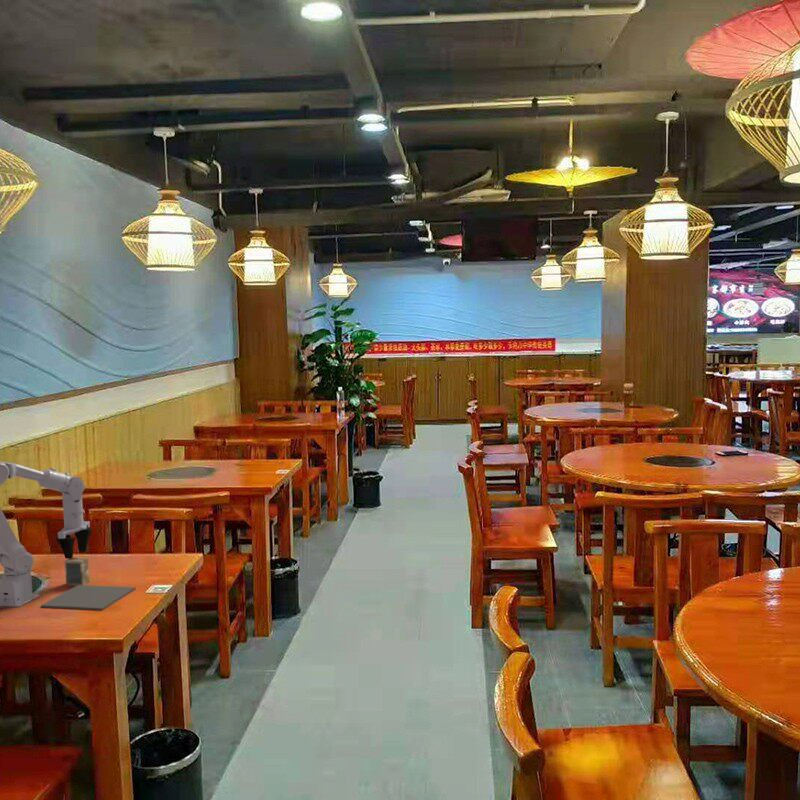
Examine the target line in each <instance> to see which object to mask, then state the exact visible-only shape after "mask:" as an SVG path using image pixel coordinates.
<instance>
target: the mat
mask: <svg viewBox="0 0 800 800" xmlns="http://www.w3.org/2000/svg"><path fill="white" fill-rule="evenodd" d="M135 590H136V587H135V586H132V587H131V586H115V585H114V586H113V585H111V586H110V585H108V586H107V585H89V584H86V585H77V586H73V587H71V588H70V589H68V590H66V591H65V592H63V593H61V594H59V595H57V596H55V597H53V598H51V599H50V600H48V601H45V603H43V604H40V607H41V608H49V609H67V610H68V609H69V610H71V609H74V610H89V611H90V610H91V611H94V610H95V611H104V610H105V609H106V608H108V607H110V606H112V605H113V604H114V603H116V602H118V601H119V600H121V599H122V598H124V597H126V596H127V595H129V594H130V593H133V591H135Z"/></svg>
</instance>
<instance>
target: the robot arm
mask: <svg viewBox="0 0 800 800" xmlns="http://www.w3.org/2000/svg"><path fill="white" fill-rule="evenodd" d="M15 477H19V478H23V479H27V480H31V481H35V482H37V483H38V485H39V487H41V488H44V489H49V490H52V491H56V492H60V493H62V508H63V509H62V511H63V513H62V514H63V524H64V525H63V528H62V529H61V530H60V531H57V537H56V542H57V544H59V546H60V548H61V550H62V552H63V555H64V557H65V559H66V560H68V559H71V558H74V557H73V556H74V545H75V540H76V541H77V542H76V543H77V549H78V551H79V552H84V553H85V552H87V549H88V548H87V547H88V543H89V540H90V536H91V534H92V532H93V528H92V527H91V522H90V521H89V520H87V521H86V520H84V507H83V506H84V505H83V492H84V491H85V489H86V484H85V483H84V481H83V479H82V478H80V477H78V476H74V475H71V474H70V473H68V472H65V473H63V472H60V471H57V469H56V468H51V467H50V469H49V468H46V469H44V470H42V471H41V470H37V469H35V468H34V469H33V468H30V467H27V466H25V465H22V464H18V463H14V462H13V463H12V462H7V461H0V487H1V486H2V485H3V484H4V483H5V482H6V480H8V479H11V480H12V479H13V478H15ZM90 527H91V528H90ZM73 534H74V535H75V536H71V535H73ZM34 563H35V559H34V556H33V554H32V553H30V552H28V551H27V550H26V547H25V546H24V545H22V543H21V542H20V541H19V540H18V539H17V536H16V534H15V533H14V532H13V529H12V527H11V525H10V523H9V522H8V520H7V518H6V516H5V514H4V512H3V511H2V508H1V507H0V565H1V566H2V567H3V568H4V569H3V576H2V578H0V607H11V608H12V607H13V608H15V607H18V608H19V607H21V606H23V605H25V604H27V603H28V602H30V601H33V600H35V599H36V598H38V597H40V595H39V594H37V593H35V594H34V593H33V584H32V582H33V581H32V571H31V570H32V568H33V566H34Z"/></svg>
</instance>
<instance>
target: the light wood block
mask: <svg viewBox="0 0 800 800" xmlns="http://www.w3.org/2000/svg"><path fill="white" fill-rule="evenodd" d="M64 570H65V572H64V573H65V585H66V586H73V587H75V586H77V585H88V584H89V583H90V582H91V581H90V567H89V558H88V557H73V558H71V559H66V560H64Z"/></svg>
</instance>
